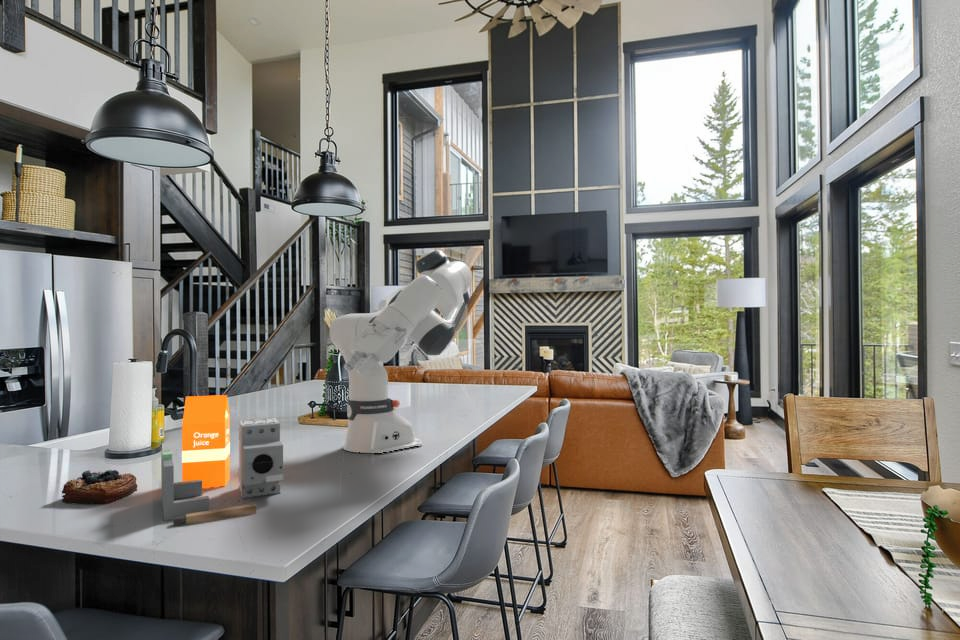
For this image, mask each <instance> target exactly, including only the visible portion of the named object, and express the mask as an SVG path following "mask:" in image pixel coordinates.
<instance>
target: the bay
mask: <svg viewBox="0 0 960 640" xmlns="http://www.w3.org/2000/svg"><path fill="white" fill-rule="evenodd" d="M160 454H161V456H160V457H161V459H160V461H161V465H160V466H161V473H160V474H161V476H160V477H161V483H160V484H161V503H162V504H161V505H162V506H161V507H162V512H163V513H162V514H163V518H164V522H166V521H171V520H173V518H174V517H180V516H186V514H190V513H196V512H203V511H209V510H210V496H209V495H206V496H205V495H204V496H203V488H202V479H200V480H192V481H185V482H182V481H179V482H174V481H175V479H174V477H175V476H174V475H175V473H174V470H175V469H174V462H173V452H172V451H171V450H170V449H167V450H161V453H160ZM199 496H200V497H199ZM192 497H193V498H192ZM176 499H177V500H176Z"/></svg>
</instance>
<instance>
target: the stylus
mask: <svg viewBox="0 0 960 640" xmlns="http://www.w3.org/2000/svg"><path fill="white" fill-rule="evenodd" d="M252 514H257V504H256V503H255V502H253V503H247V504H242V505H237V506H230V507H223V508H216V509H211V510H210V509H209V511H203V512H196V513H190V514H186V516H180V517H174V518H173V523H172V524H173V525H172V526H174V527H176V526H177V527H178V526H183V525H186V526H187V525H192V524H193V525H194V524H199V523H205V522H212V521H218V520H223V519H229V518H236V517H240V516H241V517H242V516H247V515H252Z"/></svg>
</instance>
